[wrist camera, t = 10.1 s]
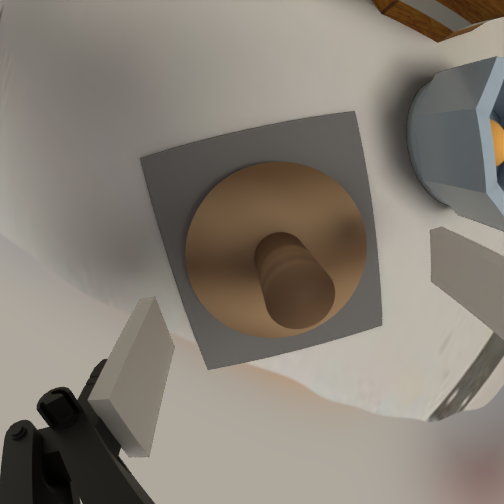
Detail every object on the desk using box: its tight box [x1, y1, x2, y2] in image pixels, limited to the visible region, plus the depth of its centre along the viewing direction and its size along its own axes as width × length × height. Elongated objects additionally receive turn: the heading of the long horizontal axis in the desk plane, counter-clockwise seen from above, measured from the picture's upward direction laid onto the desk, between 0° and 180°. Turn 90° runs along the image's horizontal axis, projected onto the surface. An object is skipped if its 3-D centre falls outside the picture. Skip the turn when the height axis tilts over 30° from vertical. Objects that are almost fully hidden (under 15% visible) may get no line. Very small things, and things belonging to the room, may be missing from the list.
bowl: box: [406, 56, 504, 232], centre depth 16 cm, size 10×10×8 cm
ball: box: [490, 119, 504, 166], centre depth 17 cm, size 4×4×4 cm
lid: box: [185, 162, 367, 338], centre depth 18 cm, size 12×12×7 cm
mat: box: [140, 111, 382, 370], centre depth 21 cm, size 16×14×1 cm
